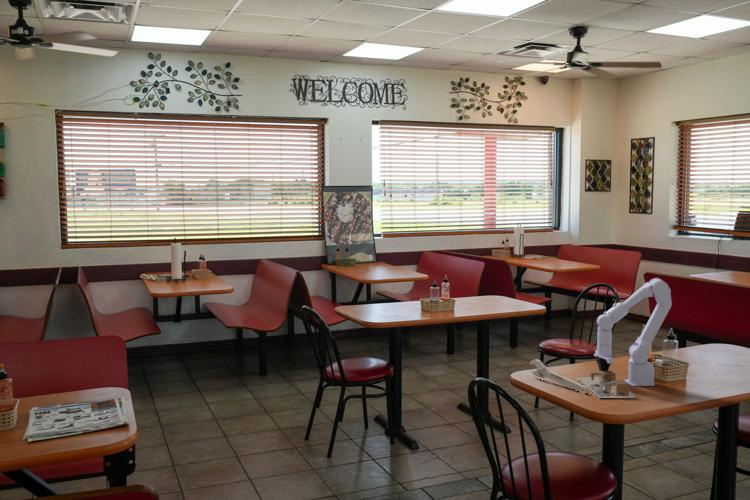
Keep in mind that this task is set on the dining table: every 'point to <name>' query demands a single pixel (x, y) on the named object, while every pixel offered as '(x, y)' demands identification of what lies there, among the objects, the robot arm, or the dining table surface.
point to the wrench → (556, 376)
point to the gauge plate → (607, 388)
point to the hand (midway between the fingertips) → (603, 376)
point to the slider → (604, 376)
